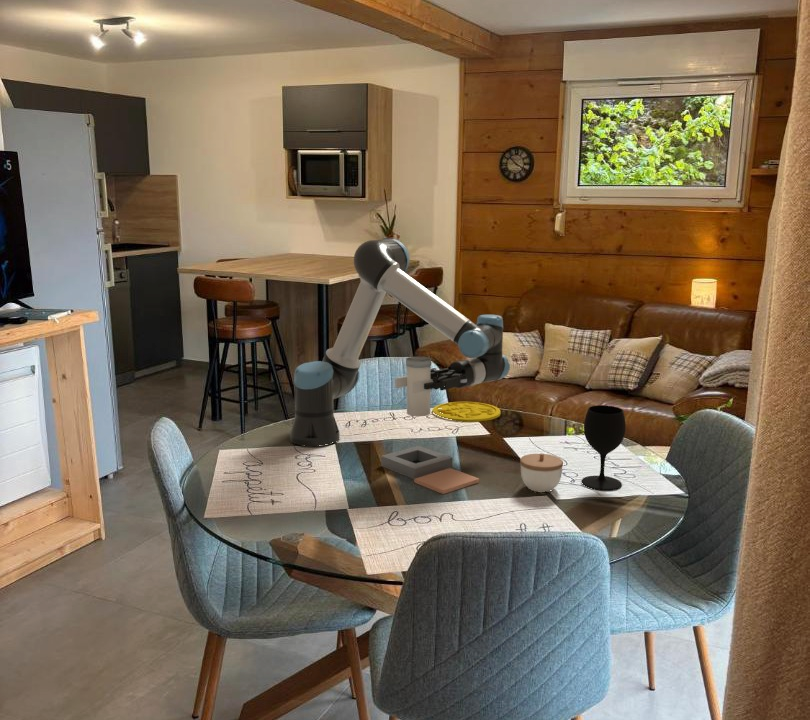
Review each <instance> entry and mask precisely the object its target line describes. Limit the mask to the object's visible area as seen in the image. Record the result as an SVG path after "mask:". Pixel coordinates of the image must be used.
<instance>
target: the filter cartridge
mask: <svg viewBox="0 0 810 720" xmlns="http://www.w3.org/2000/svg"><path fill="white" fill-rule="evenodd" d="M405 365H406V376H407V386H406V414H407V415H408V416H411V417H412V416H413V417H426V416H429V415H431V391H432V390H427V391H422V392H417V393H413V382H418V381H423V380H428V379H431V369H432V368H431V367H432V358H431V357H428V356H427V357H426V356H409V357H407V358H406V359H405Z"/></svg>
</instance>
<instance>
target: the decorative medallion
mask: <svg viewBox="0 0 810 720" xmlns="http://www.w3.org/2000/svg"><path fill="white" fill-rule="evenodd" d="M438 408H442V409H438ZM433 412H434V413H435V414H437V415H439V416H441V417H444V418H448V419H452V420H456V421H455V422H458V421H462V422H461V423H477V422H479V423H480V422H487V421H491V420H495V419H498V418H499V417H500V416H501V410H500V408H499V407H497V406H496V405H492V404H490V403H489V404H488V403H484V402H483V403H482V402H477V401H475V402H474V401H453V402H445V403H441V404H436V405H435V406H434V407H433V408H432V413H433ZM440 412H441V413H440ZM442 413H443V414H442Z"/></svg>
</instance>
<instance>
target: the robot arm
mask: <svg viewBox="0 0 810 720" xmlns="http://www.w3.org/2000/svg"><path fill="white" fill-rule="evenodd" d="M408 251H409V250H408V248H407V247H406V246H405V244H403V242H401V241H400V240H397V239H394V238H391V237H390V238H388V237H386V238H381V239H372V240H367V241H364V242H363V243H361V244H360V245H358V247H357V249H356V250H355V252H354V256H353V266H354V269H355V271H356V273H357V274H358V277H359V279H360V282H359V284H358V287H357V289H356V292H355V294H354V296H353V298H352V302H351V304H350V306H349V309H348V311H347V313H346V315H345V319H344V321H343V323H342V324H341V325H342V326H341V328H340V330H339V333H338V335H337V338H336V340H335V342H334V345H333V347H330V348H327V349H326V351H325V354H324V356H323V358H322V361H321V360H319V361H318V360H313V361H310V362H304V363H302V364H300V365H298V366H296V368H295V370H294V377H293V384H294V385H293V387H294V389H293V390H294V413H295V414H294V418H293V419H294V420H293V423H292V425H291V428H290V429H291V430H290V432H289V442H290V443H292V442H293V443H295V444H298V445H297V446H299V445H305V446H304V447H306V446H319V445H325V444H330V443H332V442H336V441H337V440H338V439H339V438H341V437H340V436H341V435H340V429H339V426H338V424H337V421H336V419H335V414H334V400H335V399H338V398H339V397H342V396H344V395H347V394H348V393H349V392H350V393H351V391H352V390H353V389H355V387H356V386H357V385H358V382H359V381H360V371H359V369H360V367H361V362H360V359H359V357H360V355H361V354H362V353H361V352H362V350H363V348H364V346H365V343H366V341H367V339H368V336H369V334H370V331H371V329H372V327H373V324H374V322H375V320H376V318H377V315H378V313H379V310H380V308H381V306H382V304H383V302H384V299H385V297H386V294H388V295H389V296H391V297H392V298H394V299H395V301H398V302H399V303H401V304H402V305H403V306H404V307H406V308H407V309H408V310H410V311H411V312H412V313H414V314H416V315H417V316H418V317H419V318H420V319H422V320H423V321H425V322H426V323H428V324H429V325H430V326H431V327H433V328H434V329H435V330H437V331H438V332H439V333H441V334H442V335H444V336H445V337H446V338H448V339H449V340H451V342H453V343H455V344H456V346H458V349H459V351H460V353H461V354H462V355H463V356H464V357H466V358H467V359H463V360H458V361H453V362H451V363H450V365H448V367H447V368H442V369H437V368H436V367H433V368H431V379H428V380H423V381H418V382H413V393H417V392H422V391H427V390H431V391H432V390H438V389H439V391H446V390H449V389H453V388H456V389H462V388H467V387H469V386H470V387H474V386H475V385H479V384H483V383H488V382H495V381H498V380H501V379H504V378H505V377H506V376H508V374H509V373H510V368H511V367H510V366H511V365H510V364H511V363H510V362H509V358H508V357H507V356H506V355H504V354H503V343H504V342H503V341H504V339H503V338H504V337H503V335H504V320H503V319H504V318H503V317H502V316H501V315H499V314H481V315H478V316H477V318H476V319H477V320H476V323H474V322H473V321H471V319H469V318H467V317H466V316H465V315H464V314H462V313H461V312H459V311H458V310H456V308H454V307H453V306H451V305H450V304H449V303H447V302H446V301H444V300H443V299H442V298H440V297H439V296H438V295H436V294H435V293H433V292H432V291H431V290H429V289H428V288H426V287H425V286H424V285H423V284H421V283H420V282H418V281H417V280H416V279H415V278H413V277H411V276H410V275H409V274H408V273H406V271H407V269H408V268H409V265H410V253H409V252H408ZM404 387H405V388H407V375H404V376H399V377H395V378H394V388H395V389H400V388H404ZM339 440H340V439H339ZM293 443H292V444H293ZM336 443H337V442H336ZM295 444H294V445H295ZM319 447H320V446H319Z"/></svg>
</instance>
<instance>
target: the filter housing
mask: <svg viewBox="0 0 810 720" xmlns="http://www.w3.org/2000/svg"><path fill="white" fill-rule="evenodd" d="M415 461H419V462H417V463H415ZM453 461H454V459H453V457H452V456H450V455H446V454H443V453H440V452H437V451H435V450H432V449H430V448H426V447H424V446H420V445H416V446H413V447H409V448H405V449H402V450H398V451H394V452H390V453H387V454H383V455H380V466H381V467H382V468H384V469H388V470H390V471H393V472H395V473H397V474H400V475H402V476H405V477H408V478H409V479H412V480H414V479H415V478H418V477H422V476H425V475H428V474H432V473H435V472H438V471H441V470H445V469H448V468H452V469H454V468H453V465H454V464H453V463H454V462H453Z"/></svg>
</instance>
